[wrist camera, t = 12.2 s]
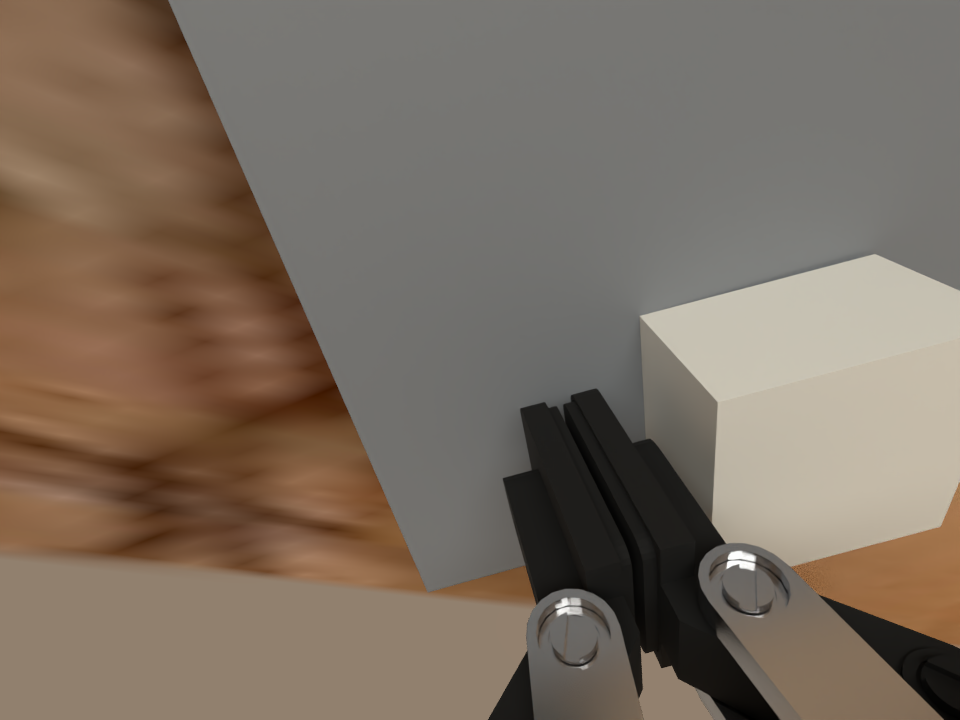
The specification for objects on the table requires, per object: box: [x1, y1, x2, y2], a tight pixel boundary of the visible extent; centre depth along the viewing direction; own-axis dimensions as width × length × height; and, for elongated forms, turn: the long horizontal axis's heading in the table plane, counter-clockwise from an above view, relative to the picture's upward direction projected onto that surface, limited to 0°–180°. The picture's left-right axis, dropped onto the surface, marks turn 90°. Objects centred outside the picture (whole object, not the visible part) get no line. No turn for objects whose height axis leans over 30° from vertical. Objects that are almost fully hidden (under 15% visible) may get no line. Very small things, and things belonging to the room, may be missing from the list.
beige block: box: [640, 254, 960, 567], centre depth 11 cm, size 5×5×3 cm
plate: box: [168, 0, 960, 592], centre depth 11 cm, size 16×18×4 cm
